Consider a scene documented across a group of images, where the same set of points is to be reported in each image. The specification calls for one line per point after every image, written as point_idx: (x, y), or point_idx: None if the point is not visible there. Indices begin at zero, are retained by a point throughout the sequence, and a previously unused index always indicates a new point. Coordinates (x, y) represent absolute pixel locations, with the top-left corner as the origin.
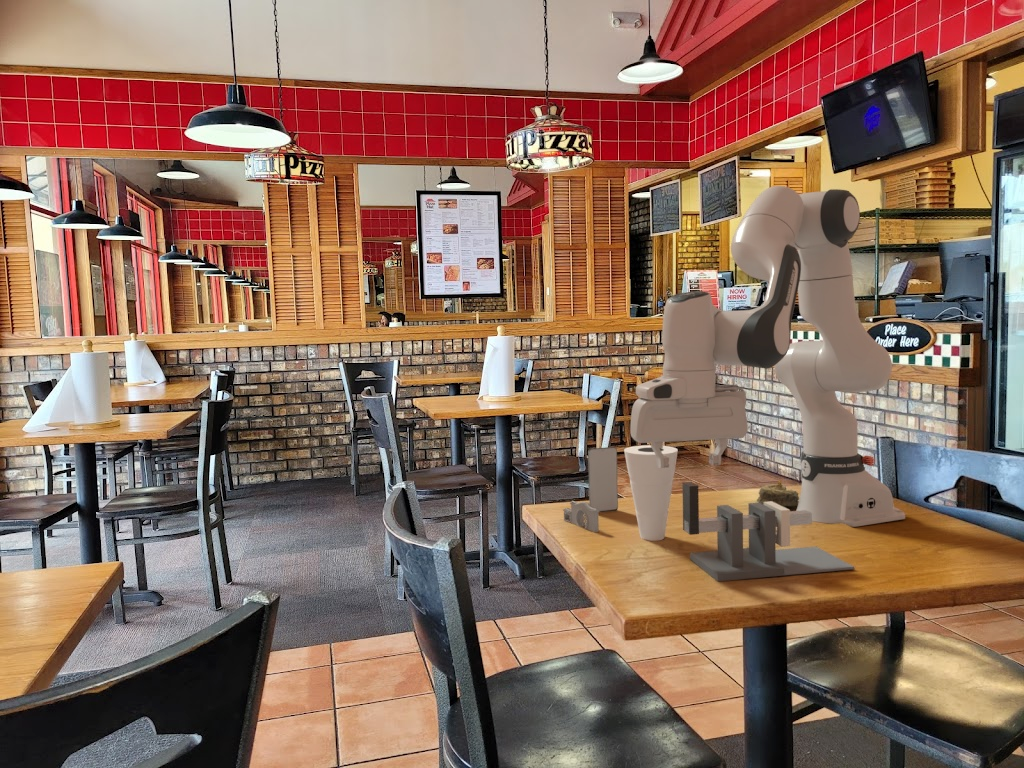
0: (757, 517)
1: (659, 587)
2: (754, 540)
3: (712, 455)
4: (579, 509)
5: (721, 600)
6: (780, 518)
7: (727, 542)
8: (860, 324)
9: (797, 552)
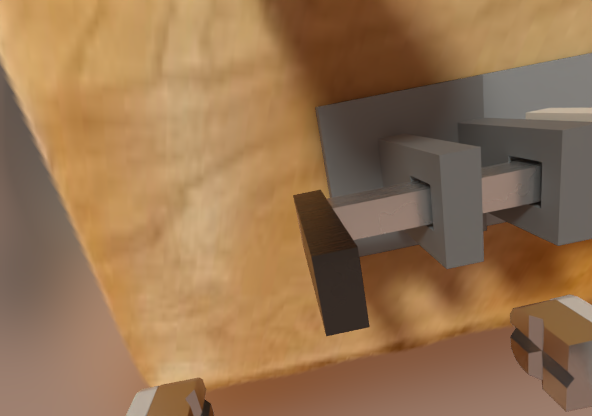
0: (530, 203)
1: (219, 274)
2: (483, 158)
3: (564, 398)
4: None
5: (321, 333)
6: None
7: None
8: None
9: (577, 89)
